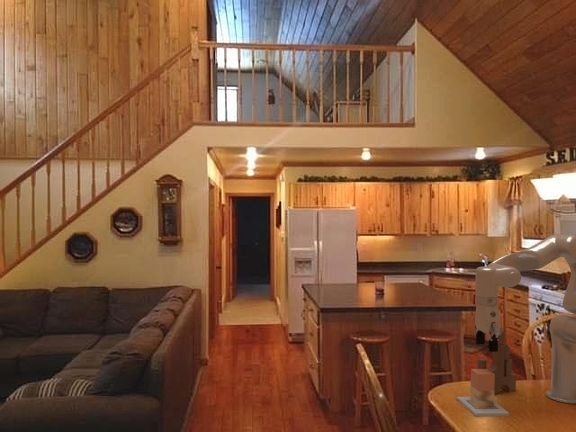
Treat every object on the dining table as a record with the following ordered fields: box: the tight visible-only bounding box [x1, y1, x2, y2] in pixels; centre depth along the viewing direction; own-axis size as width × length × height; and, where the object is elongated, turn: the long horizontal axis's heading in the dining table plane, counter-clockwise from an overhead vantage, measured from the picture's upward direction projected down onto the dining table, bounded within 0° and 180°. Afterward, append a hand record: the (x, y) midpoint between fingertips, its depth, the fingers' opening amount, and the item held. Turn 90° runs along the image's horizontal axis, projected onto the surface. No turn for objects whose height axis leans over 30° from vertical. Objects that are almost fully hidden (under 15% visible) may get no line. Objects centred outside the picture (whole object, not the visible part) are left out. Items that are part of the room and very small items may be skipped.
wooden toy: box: [477, 327, 517, 396], centre depth 206 cm, size 16×7×25 cm, turn 118°
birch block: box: [469, 385, 495, 408], centre depth 188 cm, size 6×6×6 cm
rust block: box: [470, 368, 495, 391], centre depth 188 cm, size 6×6×6 cm
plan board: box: [456, 396, 510, 417], centre depth 188 cm, size 12×16×1 cm
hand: (486, 347), depth 189 cm, fingers open, 9 cm apart
